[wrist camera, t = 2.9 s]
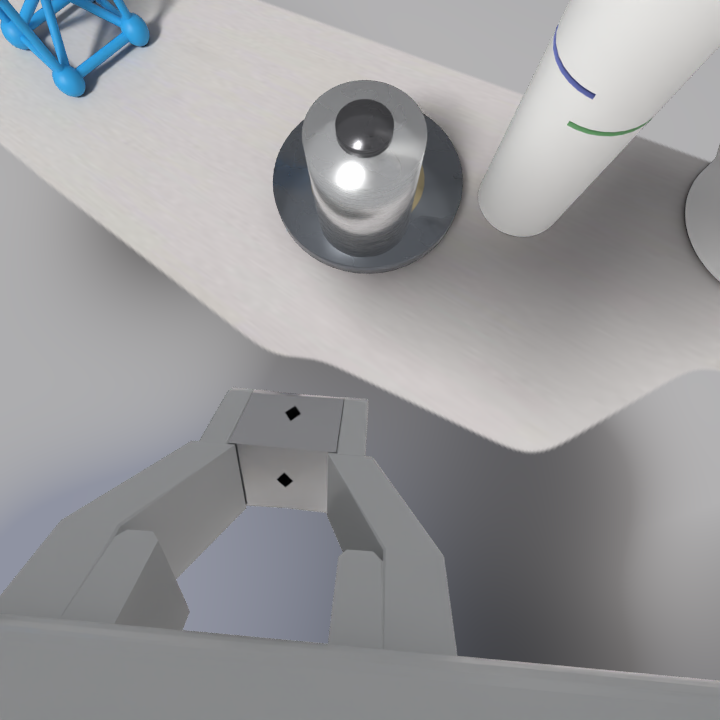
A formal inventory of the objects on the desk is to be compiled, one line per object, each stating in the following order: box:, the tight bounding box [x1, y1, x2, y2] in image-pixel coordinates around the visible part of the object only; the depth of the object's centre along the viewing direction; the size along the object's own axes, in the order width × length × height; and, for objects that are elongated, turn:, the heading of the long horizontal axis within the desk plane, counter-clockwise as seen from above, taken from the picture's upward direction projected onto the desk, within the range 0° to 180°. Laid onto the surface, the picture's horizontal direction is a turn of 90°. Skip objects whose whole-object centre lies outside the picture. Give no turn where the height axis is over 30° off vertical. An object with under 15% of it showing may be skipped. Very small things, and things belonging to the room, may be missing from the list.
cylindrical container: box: [478, 0, 720, 237], centre depth 19 cm, size 7×7×25 cm
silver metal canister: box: [302, 80, 427, 257], centre depth 24 cm, size 7×7×9 cm
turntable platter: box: [273, 113, 463, 274], centre depth 29 cm, size 15×15×1 cm
